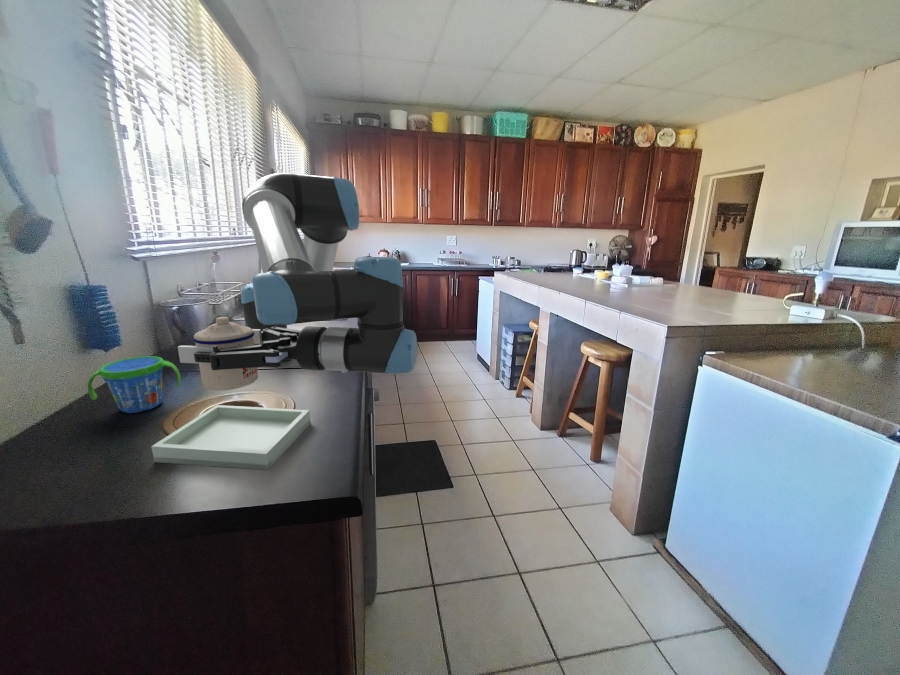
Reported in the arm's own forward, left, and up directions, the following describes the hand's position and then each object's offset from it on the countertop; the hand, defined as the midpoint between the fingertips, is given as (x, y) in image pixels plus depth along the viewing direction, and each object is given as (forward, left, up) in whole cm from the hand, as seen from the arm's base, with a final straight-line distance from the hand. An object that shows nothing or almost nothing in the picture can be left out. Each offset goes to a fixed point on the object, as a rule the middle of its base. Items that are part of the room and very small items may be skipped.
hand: (206, 344), depth 67 cm
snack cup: (-10, -26, -19) cm, 33 cm away
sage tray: (+1, +4, -19) cm, 19 cm away
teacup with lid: (0, +4, -7) cm, 8 cm away
